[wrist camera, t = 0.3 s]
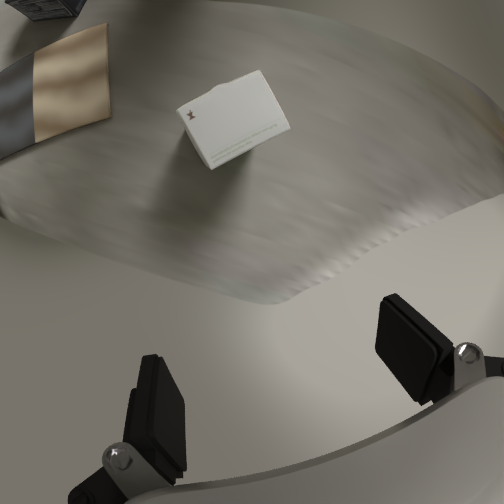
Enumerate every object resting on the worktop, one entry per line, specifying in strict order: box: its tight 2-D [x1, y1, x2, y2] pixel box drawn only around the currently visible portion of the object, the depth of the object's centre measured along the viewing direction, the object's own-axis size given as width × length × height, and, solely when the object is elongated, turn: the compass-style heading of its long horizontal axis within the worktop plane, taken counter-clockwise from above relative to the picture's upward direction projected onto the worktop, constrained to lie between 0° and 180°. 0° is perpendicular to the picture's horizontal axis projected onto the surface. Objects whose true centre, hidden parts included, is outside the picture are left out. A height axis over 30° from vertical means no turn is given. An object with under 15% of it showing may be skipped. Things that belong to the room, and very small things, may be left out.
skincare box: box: [176, 70, 291, 170], centre depth 28 cm, size 8×7×16 cm
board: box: [0, 22, 112, 160], centre depth 27 cm, size 16×26×1 cm, turn 96°
